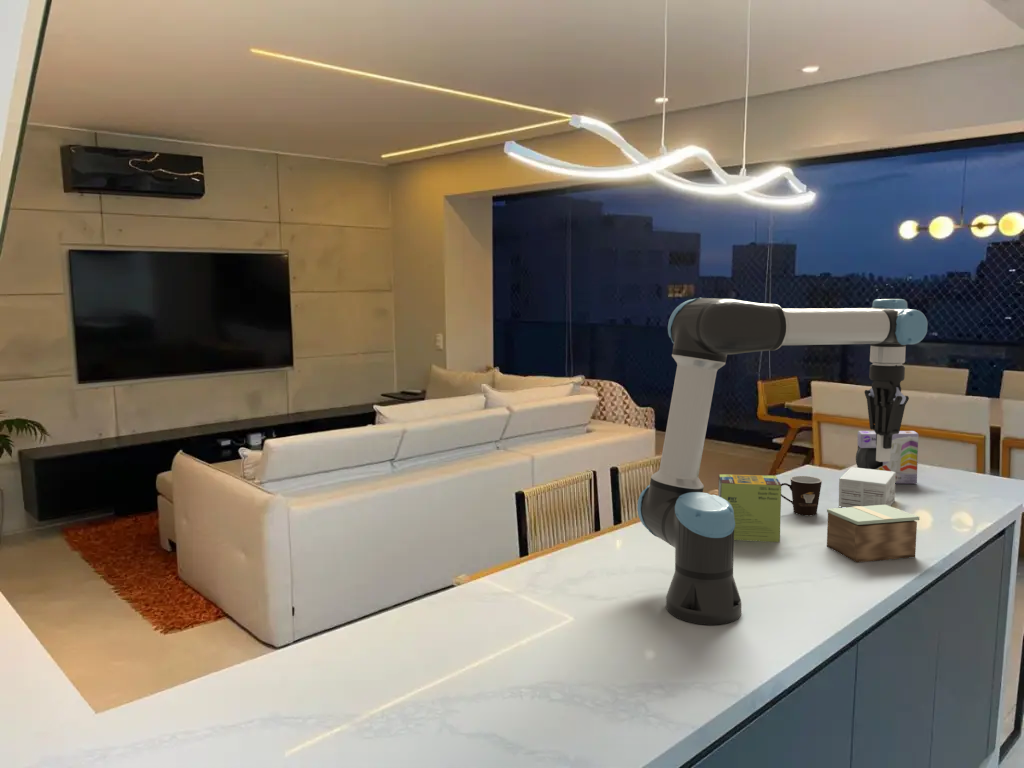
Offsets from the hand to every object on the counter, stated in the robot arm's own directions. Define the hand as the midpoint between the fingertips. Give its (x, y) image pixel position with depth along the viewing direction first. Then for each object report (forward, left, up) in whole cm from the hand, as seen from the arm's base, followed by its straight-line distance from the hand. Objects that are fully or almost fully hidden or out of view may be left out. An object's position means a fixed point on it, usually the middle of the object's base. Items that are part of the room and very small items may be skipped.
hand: (882, 460), depth 180 cm
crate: (0, +4, -24) cm, 24 cm away
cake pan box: (+48, +63, -24) cm, 83 cm away
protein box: (-23, +23, -24) cm, 40 cm away
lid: (0, +3, -15) cm, 15 cm away
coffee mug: (+2, +39, -24) cm, 46 cm away
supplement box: (+26, +41, -25) cm, 55 cm away
